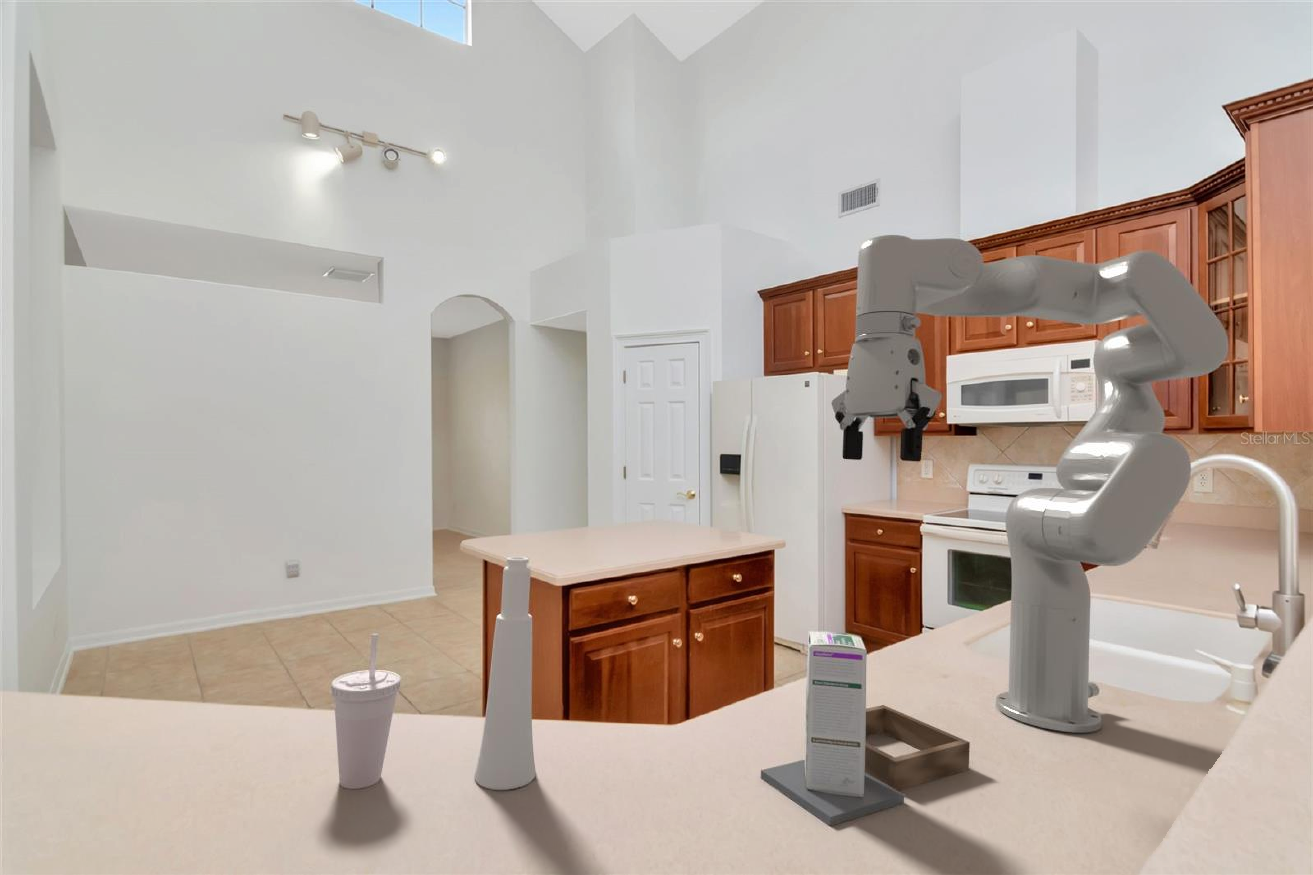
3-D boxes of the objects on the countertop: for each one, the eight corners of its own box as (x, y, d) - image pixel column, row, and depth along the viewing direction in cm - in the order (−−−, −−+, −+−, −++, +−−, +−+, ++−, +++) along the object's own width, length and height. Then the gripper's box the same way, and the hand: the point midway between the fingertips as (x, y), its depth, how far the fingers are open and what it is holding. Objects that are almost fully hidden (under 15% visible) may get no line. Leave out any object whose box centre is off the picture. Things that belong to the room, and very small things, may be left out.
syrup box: (865, 799, 64) (870, 648, 64) (803, 790, 65) (809, 642, 66) (859, 772, 70) (864, 634, 70) (801, 764, 71) (807, 628, 71)
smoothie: (409, 776, 66) (418, 634, 66) (351, 803, 60) (361, 648, 61) (368, 758, 69) (377, 624, 69) (309, 782, 63) (319, 636, 64)
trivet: (830, 760, 74) (830, 753, 74) (903, 802, 65) (904, 794, 65) (760, 778, 69) (761, 770, 69) (829, 826, 60) (830, 817, 60)
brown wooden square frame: (882, 728, 84) (883, 705, 84) (968, 769, 73) (969, 742, 73) (811, 744, 78) (812, 719, 78) (894, 791, 67) (895, 762, 67)
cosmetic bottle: (496, 758, 70) (508, 552, 71) (546, 769, 68) (558, 557, 69) (461, 783, 65) (475, 558, 66) (514, 796, 63) (528, 564, 64)
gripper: (961, 325, 82) (956, 463, 81) (855, 344, 97) (851, 460, 96) (921, 316, 78) (916, 460, 77) (817, 337, 93) (812, 457, 93)
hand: (880, 460), depth 87 cm, fingers open, 9 cm apart
